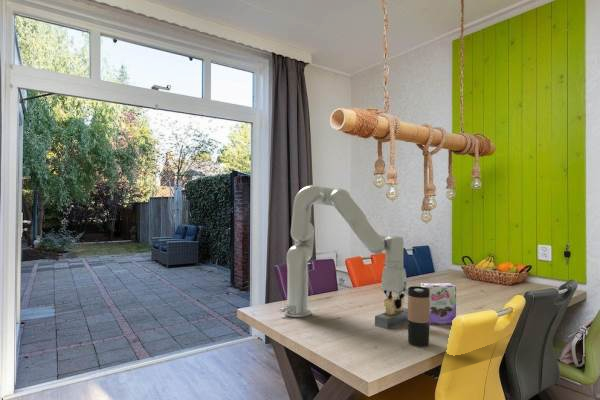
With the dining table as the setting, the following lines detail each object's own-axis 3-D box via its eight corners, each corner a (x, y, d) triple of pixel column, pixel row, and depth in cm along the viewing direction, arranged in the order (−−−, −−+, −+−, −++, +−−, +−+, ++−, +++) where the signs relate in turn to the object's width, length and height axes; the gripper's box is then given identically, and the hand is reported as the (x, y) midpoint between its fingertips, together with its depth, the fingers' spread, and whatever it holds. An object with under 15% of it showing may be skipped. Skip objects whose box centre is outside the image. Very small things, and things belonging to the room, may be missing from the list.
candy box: (424, 324, 154) (425, 285, 154) (419, 320, 160) (419, 282, 160) (456, 324, 155) (456, 285, 155) (449, 319, 161) (450, 282, 161)
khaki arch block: (390, 316, 152) (390, 301, 152) (384, 315, 154) (384, 299, 154) (404, 311, 159) (404, 296, 160) (397, 310, 162) (397, 295, 162)
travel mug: (418, 338, 138) (418, 285, 138) (434, 345, 131) (434, 289, 131) (403, 341, 134) (403, 287, 134) (418, 349, 127) (419, 291, 128)
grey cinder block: (387, 329, 148) (387, 319, 148) (374, 325, 152) (374, 316, 152) (411, 318, 162) (411, 309, 162) (399, 315, 166) (399, 306, 166)
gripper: (373, 263, 160) (373, 305, 160) (407, 268, 149) (407, 313, 148) (382, 261, 165) (382, 302, 165) (416, 265, 154) (416, 309, 154)
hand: (394, 306), depth 157 cm, fingers closed on khaki arch block, 3 cm apart
